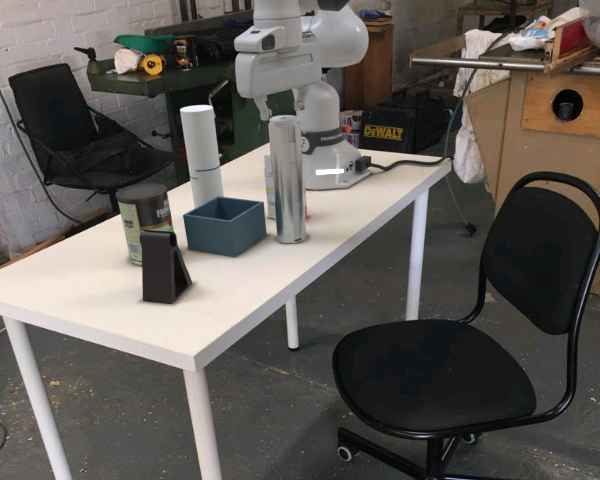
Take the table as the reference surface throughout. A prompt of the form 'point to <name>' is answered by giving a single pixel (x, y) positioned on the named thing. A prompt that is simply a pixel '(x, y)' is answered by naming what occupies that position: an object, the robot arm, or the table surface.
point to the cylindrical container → (202, 153)
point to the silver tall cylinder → (287, 178)
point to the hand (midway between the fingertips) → (283, 115)
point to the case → (225, 225)
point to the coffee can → (143, 214)
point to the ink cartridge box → (270, 187)
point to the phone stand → (162, 267)
